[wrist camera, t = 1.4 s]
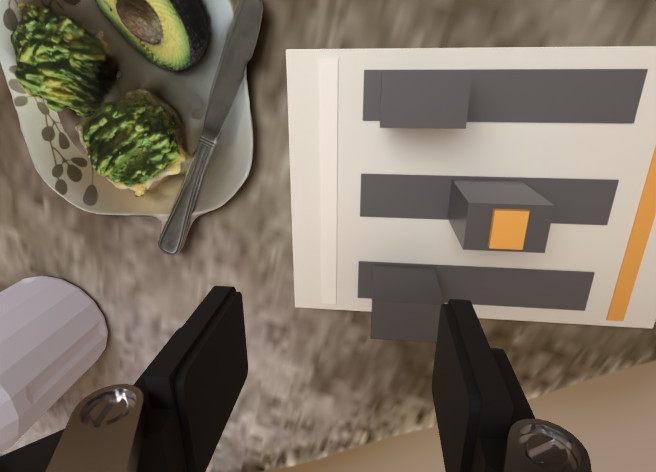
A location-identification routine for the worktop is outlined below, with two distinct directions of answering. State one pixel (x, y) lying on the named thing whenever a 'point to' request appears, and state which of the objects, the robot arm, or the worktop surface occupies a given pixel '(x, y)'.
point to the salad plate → (135, 102)
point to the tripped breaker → (499, 216)
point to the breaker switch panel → (473, 164)
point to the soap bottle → (43, 348)
